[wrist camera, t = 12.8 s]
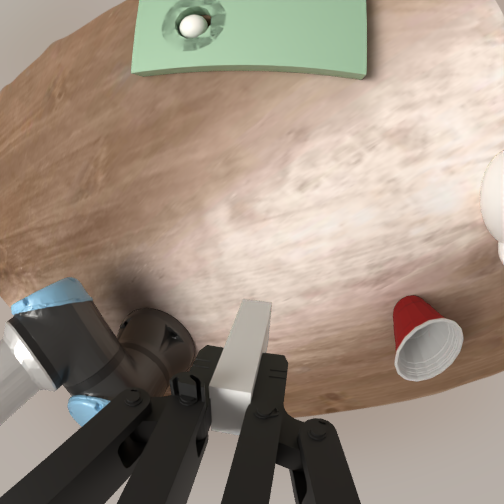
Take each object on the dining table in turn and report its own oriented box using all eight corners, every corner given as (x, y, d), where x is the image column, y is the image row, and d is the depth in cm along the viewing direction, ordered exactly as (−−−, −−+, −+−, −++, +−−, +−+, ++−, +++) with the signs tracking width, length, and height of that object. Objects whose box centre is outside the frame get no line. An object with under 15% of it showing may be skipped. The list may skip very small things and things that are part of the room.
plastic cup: (427, 338, 49) (447, 383, 37) (372, 334, 50) (384, 382, 39) (446, 284, 45) (476, 322, 34) (388, 277, 46) (409, 317, 35)
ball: (201, 43, 39) (175, 41, 37) (203, 20, 38) (177, 18, 36) (210, 36, 36) (182, 34, 34) (212, 12, 34) (184, 9, 33)
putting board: (143, 76, 41) (131, 73, 38) (151, 0, 36) (140, -8, 33) (361, 79, 37) (366, 74, 33) (361, -4, 32) (365, -14, 28)
